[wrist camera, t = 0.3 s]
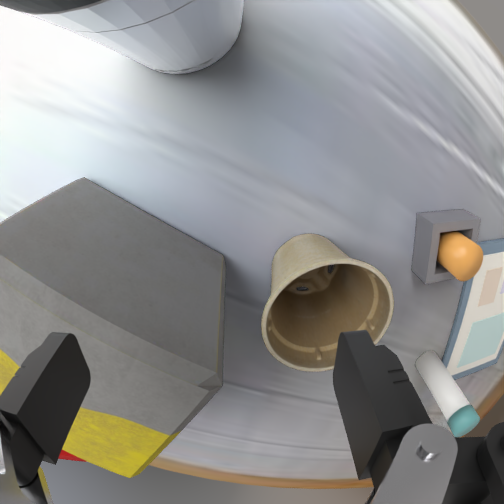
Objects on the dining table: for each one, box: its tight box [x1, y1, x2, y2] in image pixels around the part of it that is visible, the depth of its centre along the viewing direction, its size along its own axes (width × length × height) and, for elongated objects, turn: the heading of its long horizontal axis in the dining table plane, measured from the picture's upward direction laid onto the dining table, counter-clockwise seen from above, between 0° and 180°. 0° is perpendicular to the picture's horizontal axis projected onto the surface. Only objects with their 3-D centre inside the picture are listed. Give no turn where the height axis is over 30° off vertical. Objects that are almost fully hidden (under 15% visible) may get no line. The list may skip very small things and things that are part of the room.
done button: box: [436, 231, 483, 281], centre depth 25 cm, size 4×4×4 cm
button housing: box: [411, 209, 481, 284], centre depth 27 cm, size 6×6×3 cm
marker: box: [415, 351, 480, 437], centre depth 30 cm, size 3×3×12 cm
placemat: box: [442, 238, 504, 380], centre depth 33 cm, size 22×13×1 cm, turn 6°
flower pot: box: [261, 234, 394, 372], centre depth 25 cm, size 9×9×9 cm
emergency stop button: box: [0, 177, 226, 478], centre depth 23 cm, size 15×24×15 cm, turn 147°
